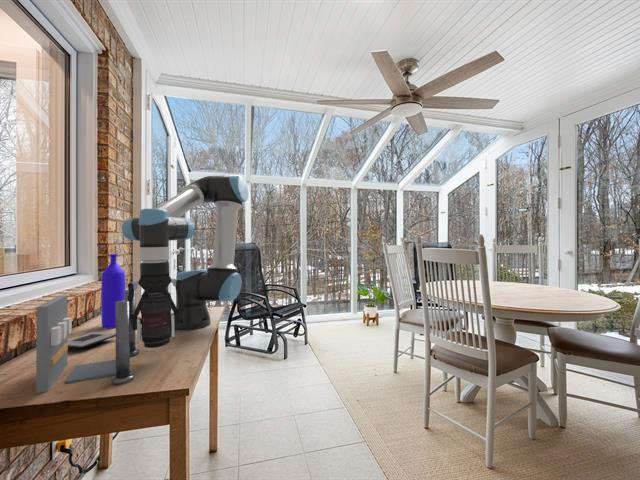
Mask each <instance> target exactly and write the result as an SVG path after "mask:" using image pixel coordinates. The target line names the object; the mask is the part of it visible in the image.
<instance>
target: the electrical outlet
mask: <svg viewBox="0 0 640 480" xmlns="http://www.w3.org/2000/svg"><path fill="white" fill-rule="evenodd" d="M112 338H116V332H99V331H92V332H89V333H86V334H82V335H79V336H77V337H73V338H70V339H67V343H68V348H71V349H82V350H83V349H85V348H87V347H90V346H93V345H95V344H98V343H102V342H104V341H107V340H109V339H112Z"/></svg>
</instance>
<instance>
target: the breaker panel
mask: <svg viewBox="0 0 640 480" xmlns="http://www.w3.org/2000/svg"><path fill="white" fill-rule="evenodd" d="M35 312H36V317H35V318H36V319H35V320H36V323H35V324H36V325H35V327H36V331H35V332H36V342H35V343H36V344H35V345H36V349H35V350H36V352H35V353H36V361H35V363H36V366H35V367H36V370H35V371H36V373H35V375H36V376H35V377H36V379H35V381H36V383H35V384H36V386H35V388H36V389H35V391H36V393H37V394H41V392H42V393H47V391H48V392H49V390H50V389H51V388H52V386H53V385H54V384H55V382H56V381H57V380H58V379H59V377H60V376H61V374H62V373H63V372H64V370H65V369H66V368H67V367H68V349H69V347H68V343H67V340H68V335H70V334H71V333H72V331H73V329H72V327H73V326H72V323H73V321H72V317H68V294H66V295H64V294H63V295H62V294H61V295H57V296H55V297H53V298H51V299H49V300H47V301H46V302H44V303H42V304H39V305H38V306H36V311H35Z"/></svg>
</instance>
